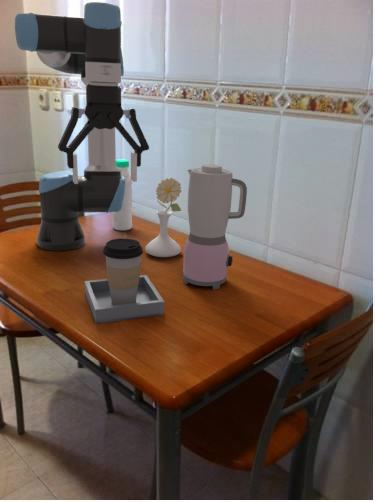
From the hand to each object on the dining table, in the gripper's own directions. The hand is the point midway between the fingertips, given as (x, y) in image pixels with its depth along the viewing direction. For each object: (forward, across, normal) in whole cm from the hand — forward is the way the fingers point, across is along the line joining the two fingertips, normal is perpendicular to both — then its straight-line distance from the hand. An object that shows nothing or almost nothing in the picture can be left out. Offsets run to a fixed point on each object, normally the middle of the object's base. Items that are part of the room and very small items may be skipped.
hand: (105, 181), depth 107 cm
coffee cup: (+29, +3, -7) cm, 29 cm away
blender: (+29, +29, 0) cm, 41 cm away
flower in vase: (+30, +23, +23) cm, 44 cm away
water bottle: (+31, +17, +53) cm, 64 cm away
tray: (+29, +2, -7) cm, 30 cm away
